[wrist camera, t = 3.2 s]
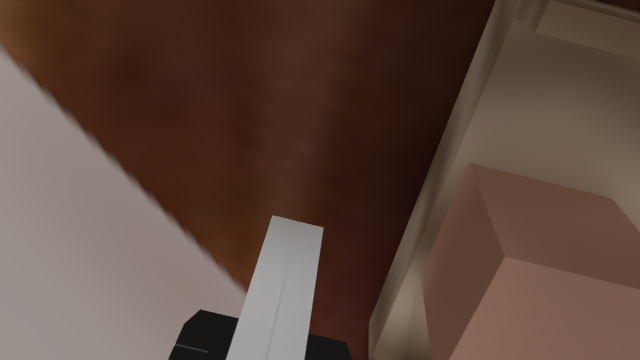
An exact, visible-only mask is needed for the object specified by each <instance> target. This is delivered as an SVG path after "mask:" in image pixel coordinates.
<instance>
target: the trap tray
mask: <svg viewBox="0 0 640 360" xmlns="http://www.w3.org/2000/svg"><path fill="white" fill-rule="evenodd" d="M469 163H472V164H476V165H480V166H484V167H488V168H492V169H496V170H500V171H504V172H508V173H512V174H516V175H520V176H524V177H528V178H532V179H536V180H540V181H544V182H548V183H552V184H556V185H560V186H564V187H568V188H572V189H576V190H580V191H584V192H588V193H592V194H596V195H600V196H604V197H608V198H612V199H613V200H614V201H615V203H616V204H617V205H618V206H619V207H620V209H621V210H622V211H623V212H624V213H625V215H626V216H627V217H628V218H629V219H630V221H631V222H632V223H633V224H634V226H635V227H636V228H637V229H638V230H639V232H640V12H637V11H633V10H630V9H626V8H622V7H618V6H614V5H611V4H607V3H603V2H599V1H595V0H496V1H495V4H494V6H493V9H492V11H491V14H490V16H489V19H488V21H487V24H486V26H485V29H484V32H483V34H482V37H481V39H480V42H479V44H478V47H477V49H476V52H475V54H474V57H473V59H472V62H471V65H470V67H469V70H468V72H467V75H466V77H465V80H464V82H463V85H462V87H461V90H460V92H459V95H458V98H457V100H456V103H455V105H454V108H453V110H452V113H451V115H450V118H449V120H448V123H447V125H446V128H445V131H444V133H443V136H442V138H441V141H440V143H439V146H438V148H437V151H436V153H435V156H434V158H433V161H432V164H431V166H430V169H429V171H428V174H427V176H426V179H425V181H424V184H423V186H422V189H421V191H420V194H419V197H418V199H417V202H416V204H415V207H414V209H413V212H412V214H411V217H410V219H409V222H408V224H407V227H406V230H405V232H404V235H403V237H402V240H401V242H400V245H399V247H398V250H397V252H396V255H395V258H394V260H393V263H392V265H391V268H390V270H389V273H388V275H387V278H386V280H385V283H384V285H383V288H382V291H381V293H380V296H379V298H378V301H377V303H376V306H375V308H374V311H373V313H372V316H371V318H370V321H369V360H432V359H431V352H430V344H429V337H428V329H427V321H426V314H425V306H424V299H423V291H422V283H421V276H420V274H421V272H422V269H423V267H424V265H425V262H426V260H427V258H428V256H429V253H430V251H431V249H432V247H433V244H434V242H435V240H436V237H437V235H438V233H439V231H440V228H441V226H442V224H443V221H444V219H445V217H446V215H447V212H448V210H449V208H450V205H451V203H452V201H453V199H454V196H455V194H456V192H457V190H458V187H459V185H460V183H461V180H462V178H463V176H464V174H465V171H466V169H467V167H468V164H469Z"/></svg>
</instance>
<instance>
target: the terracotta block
mask: <svg viewBox="0 0 640 360" xmlns="http://www.w3.org/2000/svg"><path fill="white" fill-rule="evenodd" d="M420 276H421V283H422V291H423V299H424V306H425V314H426V321H427V329H428V337H429V344H430V352H431V359H432V360H640V232H639V230H638V229H637V228H636V227H635V226H634V224H633V223H632V222H631V221H630V219H629V218H628V217H627V216H626V215H625V213H624V212H623V211H622V210H621V209H620V207H619V206H618V205H617V204H616V203H615V201H614V200H613V199H612V198H608V197H604V196H600V195H596V194H592V193H588V192H584V191H580V190H576V189H572V188H568V187H564V186H560V185H556V184H552V183H548V182H544V181H540V180H536V179H532V178H528V177H524V176H520V175H516V174H512V173H508V172H504V171H500V170H496V169H492V168H488V167H484V166H480V165H476V164H472V163H469V164H468V167H467V169H466V171H465V174H464V176H463V178H462V180H461V183H460V185H459V187H458V190H457V192H456V194H455V196H454V199H453V201H452V203H451V205H450V208H449V210H448V212H447V215H446V217H445V219H444V221H443V224H442V226H441V228H440V231H439V233H438V235H437V237H436V240H435V242H434V244H433V247H432V249H431V251H430V253H429V256H428V258H427V260H426V262H425V265H424V267H423V269H422V272H421V274H420Z"/></svg>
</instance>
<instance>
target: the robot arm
mask: <svg viewBox="0 0 640 360" xmlns="http://www.w3.org/2000/svg"><path fill="white" fill-rule="evenodd" d="M322 234H323V227H319V226H315V225H311V224H307V223H302V222H298V221H294V220H290V219H286V218H282V217H278V216H274V215H272V218H271V221H270V224H269V228H268V231H267V234H266V237H265V240H264V243H263V246H262V249H261V252H260V256H259V259H258V262H257V265H256V268H255V271H254V274H253V277H252V280H251V283H250V287H249V290H248V293H247V296H246V299H245V302H244V305H243V309H242V311H241V315H240V318H234V317H230V316H226V315H222V314H217V313H213V312H209V311H205V310H199V311H198V312H197V313H196V314H195V315H194V316H193V317H191V318H190V319H189V320H188V321H187V322H186V323H185V324H184V326H183V328H182V330H181V332H180V335H179V337H178V339H177V341H176V344H175V346H174V348H173V350H172V352H171V354H170V357H169V360H353V359H352V357H351V354H350V352H349V349H348V347H347V344H346V342H342V341H338V340H333V339H329V338H325V337H321V336H316V335H312V334H308V331H309V324H310V317H311V310H312V303H313V297H314V290H315V283H316V276H317V269H318V262H319V255H320V248H321V241H322Z"/></svg>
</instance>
